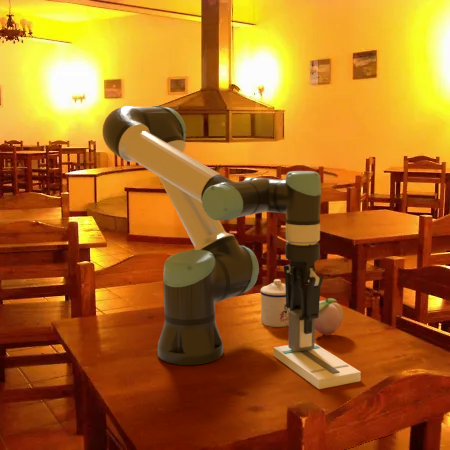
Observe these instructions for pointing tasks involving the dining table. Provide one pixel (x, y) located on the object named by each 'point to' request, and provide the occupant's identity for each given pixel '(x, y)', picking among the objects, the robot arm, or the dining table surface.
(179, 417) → the dining table surface
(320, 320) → the decorative fruit
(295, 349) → the fader tab
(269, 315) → the teacup with lid
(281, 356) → the slider console
